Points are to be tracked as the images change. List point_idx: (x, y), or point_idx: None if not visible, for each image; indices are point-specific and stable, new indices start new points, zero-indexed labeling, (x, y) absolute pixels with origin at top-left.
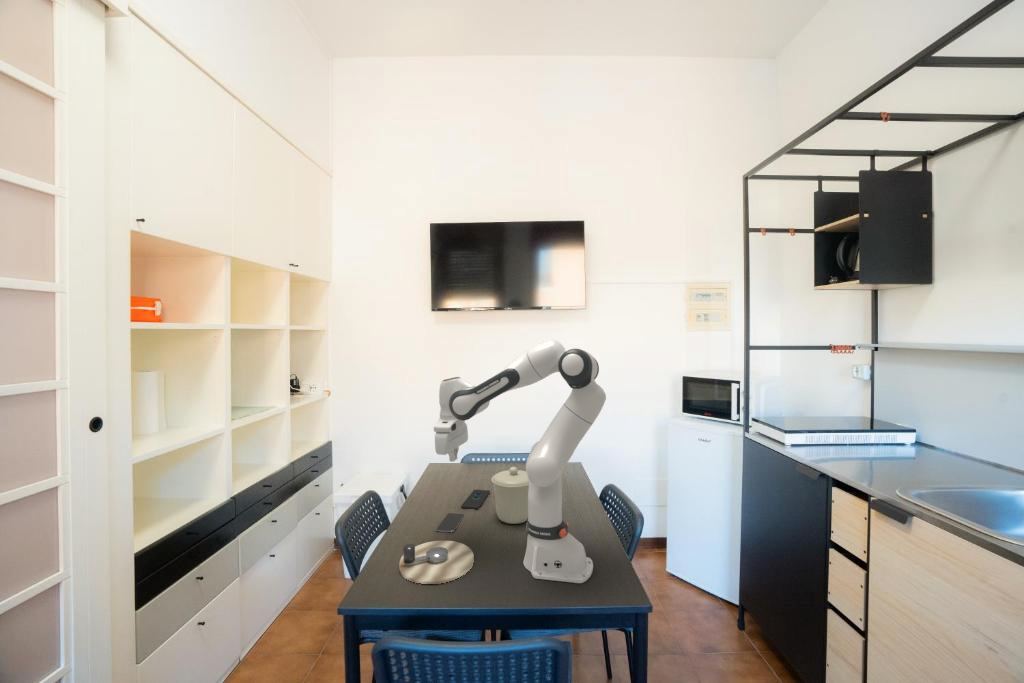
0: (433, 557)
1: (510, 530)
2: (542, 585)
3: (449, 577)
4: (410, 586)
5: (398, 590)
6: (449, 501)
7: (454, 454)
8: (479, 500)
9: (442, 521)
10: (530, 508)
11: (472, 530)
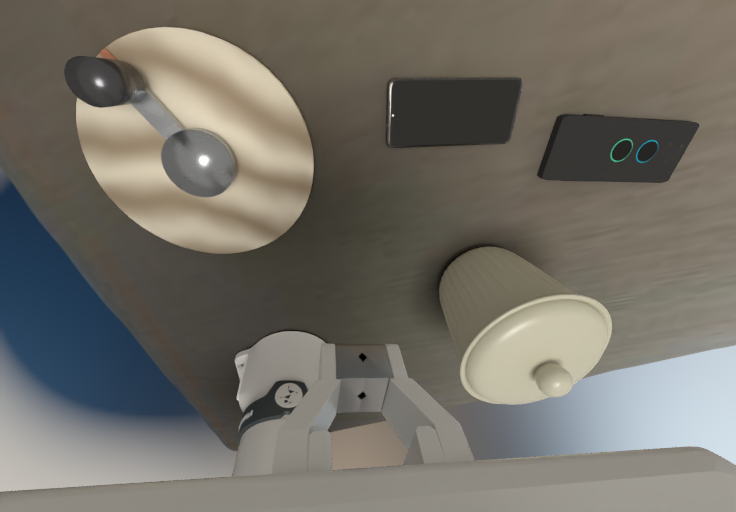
0: (164, 166)
1: (413, 283)
2: (221, 366)
3: (138, 223)
4: (68, 125)
5: (28, 95)
6: (634, 44)
7: (385, 400)
8: (597, 168)
9: (454, 82)
10: (241, 470)
11: (406, 197)
